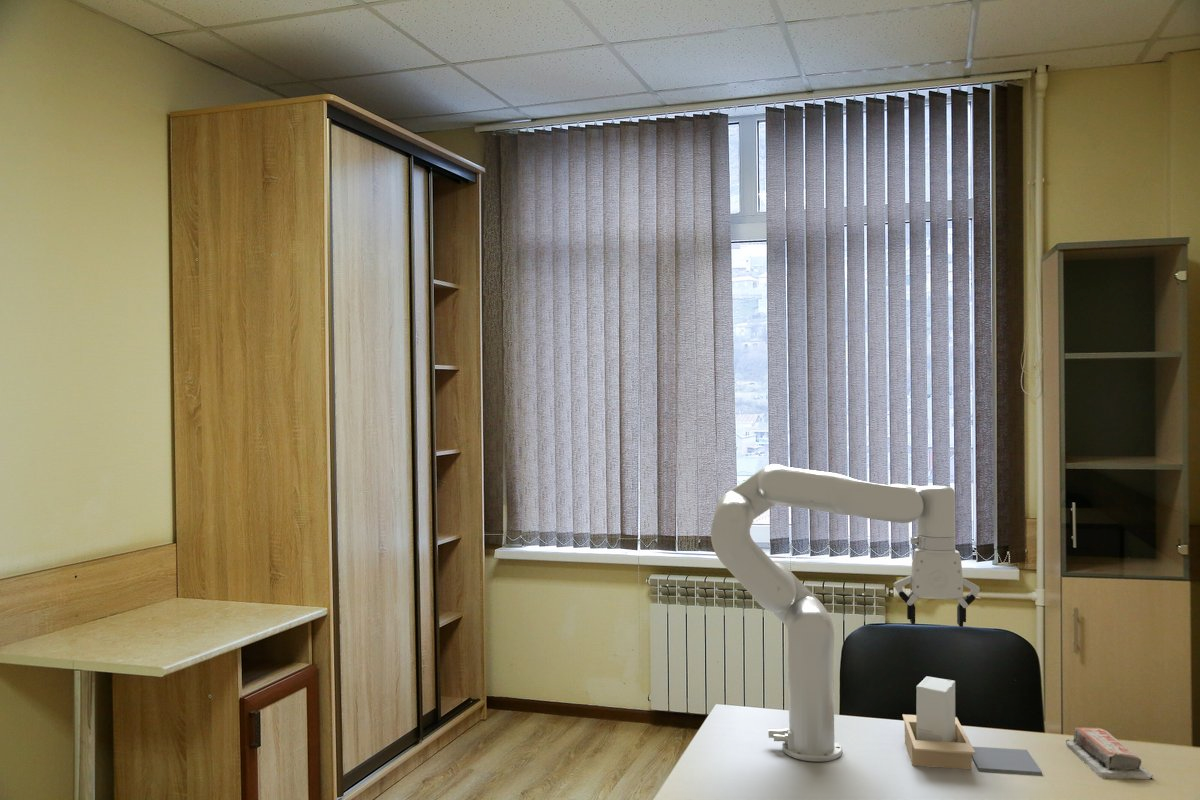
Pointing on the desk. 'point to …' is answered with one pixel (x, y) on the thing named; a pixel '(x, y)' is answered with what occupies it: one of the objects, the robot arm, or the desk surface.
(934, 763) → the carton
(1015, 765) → the mat
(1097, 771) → the packaged product
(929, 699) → the skincare box
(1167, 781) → the desk surface
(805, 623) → the robot arm
